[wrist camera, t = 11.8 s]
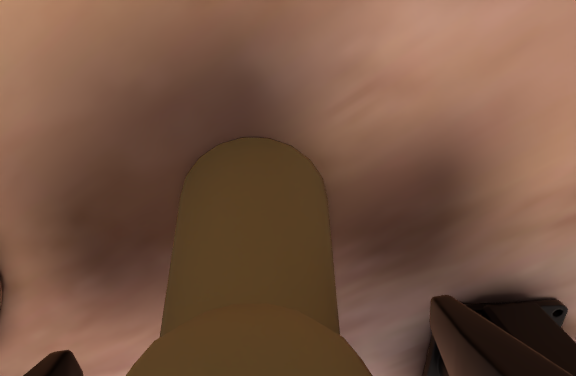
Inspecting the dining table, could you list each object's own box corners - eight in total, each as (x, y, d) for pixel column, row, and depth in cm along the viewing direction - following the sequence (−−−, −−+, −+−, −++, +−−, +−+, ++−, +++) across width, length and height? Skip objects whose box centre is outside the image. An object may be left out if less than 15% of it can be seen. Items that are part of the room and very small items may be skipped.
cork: (256, 103, 13) (245, 374, 3) (356, 208, 15) (538, 564, 5) (148, 206, 14) (-94, 615, 5) (254, 288, 17) (245, 687, 7)
